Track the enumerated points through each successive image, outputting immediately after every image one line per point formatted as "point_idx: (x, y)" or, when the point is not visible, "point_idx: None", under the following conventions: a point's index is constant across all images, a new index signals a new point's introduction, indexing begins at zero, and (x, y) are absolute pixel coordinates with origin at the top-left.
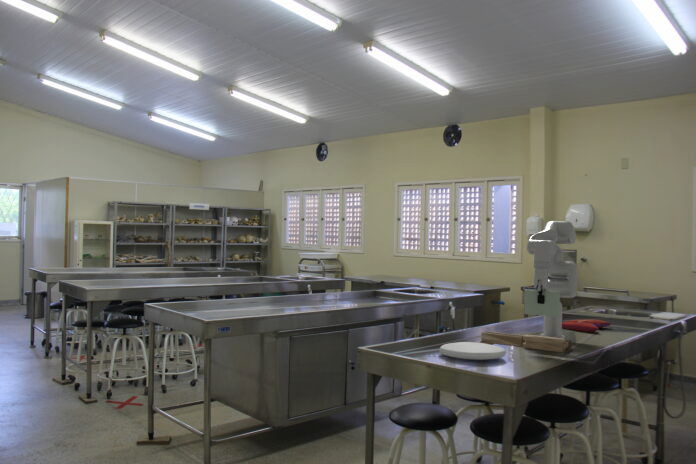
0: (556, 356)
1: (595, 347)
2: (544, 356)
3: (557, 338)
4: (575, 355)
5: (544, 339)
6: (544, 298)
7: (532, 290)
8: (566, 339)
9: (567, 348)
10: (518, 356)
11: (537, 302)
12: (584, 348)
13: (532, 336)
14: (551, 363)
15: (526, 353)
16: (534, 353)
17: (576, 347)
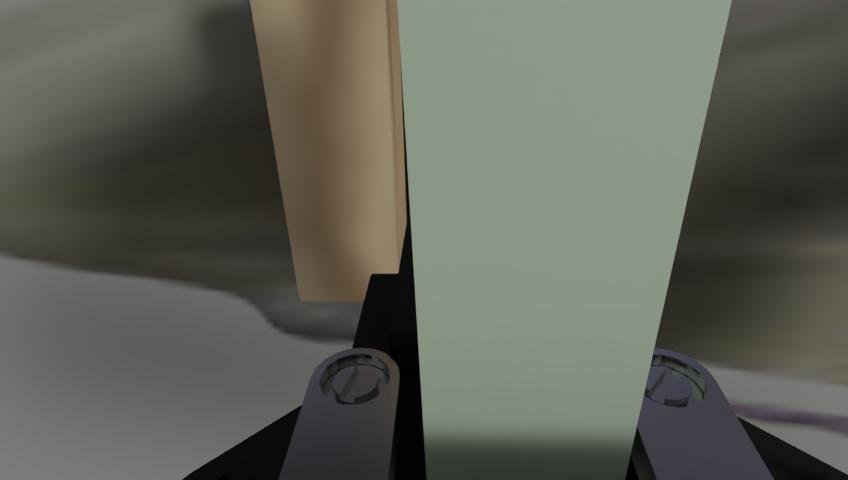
0: (247, 222)
1: (738, 354)
2: (180, 163)
3: (366, 254)
4: None
5: (280, 168)
6: None
7: (415, 256)
8: None
9: None
10: (5, 8)
11: (407, 221)
12: None
13: (295, 52)
14: (23, 238)
15: (168, 27)
16: (221, 79)
17: (672, 268)
